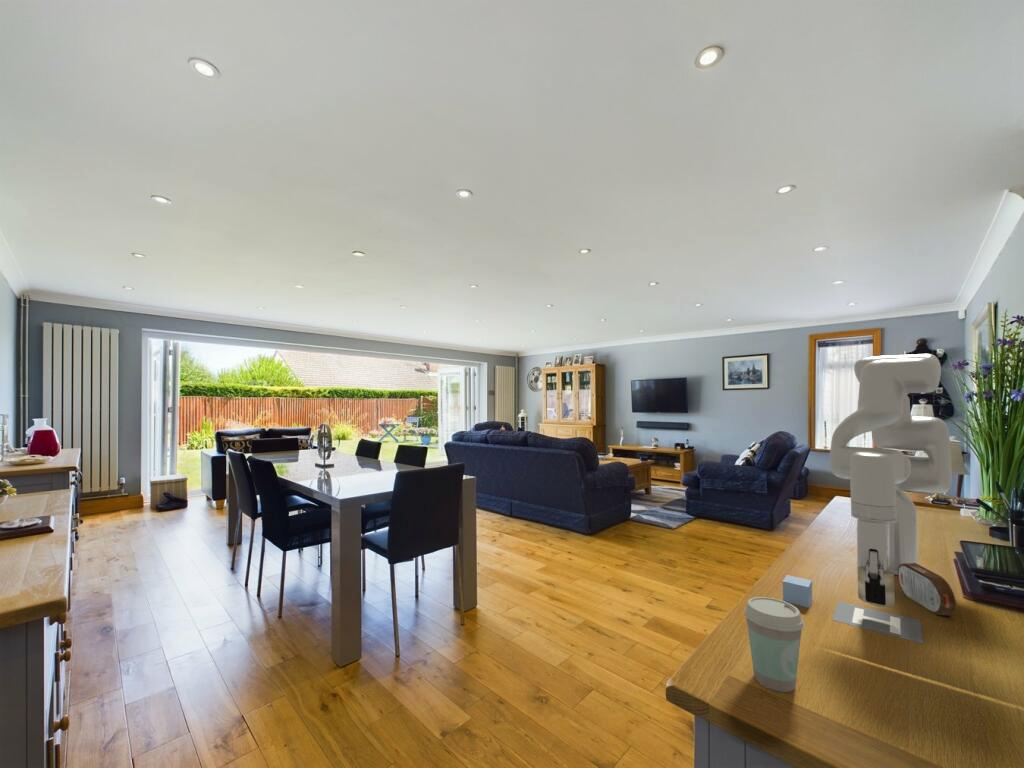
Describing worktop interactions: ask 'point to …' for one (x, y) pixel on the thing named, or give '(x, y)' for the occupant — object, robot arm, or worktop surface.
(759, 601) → the coffee cup
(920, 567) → the tin
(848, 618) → the letter card
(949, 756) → the worktop surface
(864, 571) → the beige streaked cube
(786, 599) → the blue cube
